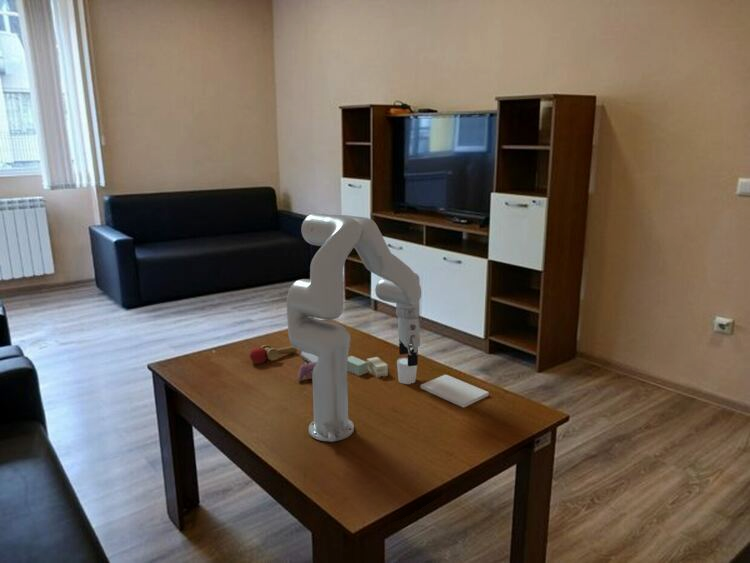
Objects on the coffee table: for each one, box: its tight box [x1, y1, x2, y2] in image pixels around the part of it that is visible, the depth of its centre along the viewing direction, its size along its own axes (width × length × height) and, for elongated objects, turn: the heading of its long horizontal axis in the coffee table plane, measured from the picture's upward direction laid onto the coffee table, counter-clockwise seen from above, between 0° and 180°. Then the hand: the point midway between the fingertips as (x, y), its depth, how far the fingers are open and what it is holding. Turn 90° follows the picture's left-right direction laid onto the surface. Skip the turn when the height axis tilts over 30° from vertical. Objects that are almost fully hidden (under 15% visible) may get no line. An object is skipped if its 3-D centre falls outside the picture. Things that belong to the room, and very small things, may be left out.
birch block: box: [366, 356, 389, 378], centre depth 202 cm, size 8×4×4 cm, turn 26°
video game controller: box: [297, 362, 317, 383], centre depth 196 cm, size 10×5×7 cm, turn 85°
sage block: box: [347, 355, 368, 377], centre depth 203 cm, size 8×4×4 cm, turn 44°
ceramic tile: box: [420, 374, 490, 409], centre depth 187 cm, size 18×12×1 cm, turn 41°
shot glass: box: [396, 356, 418, 385], centre depth 195 cm, size 7×7×7 cm
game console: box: [300, 351, 318, 363], centre depth 212 cm, size 18×2×8 cm
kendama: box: [249, 344, 298, 365], centre depth 214 cm, size 8×6×18 cm
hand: (408, 359), depth 194 cm, fingers open, 9 cm apart
